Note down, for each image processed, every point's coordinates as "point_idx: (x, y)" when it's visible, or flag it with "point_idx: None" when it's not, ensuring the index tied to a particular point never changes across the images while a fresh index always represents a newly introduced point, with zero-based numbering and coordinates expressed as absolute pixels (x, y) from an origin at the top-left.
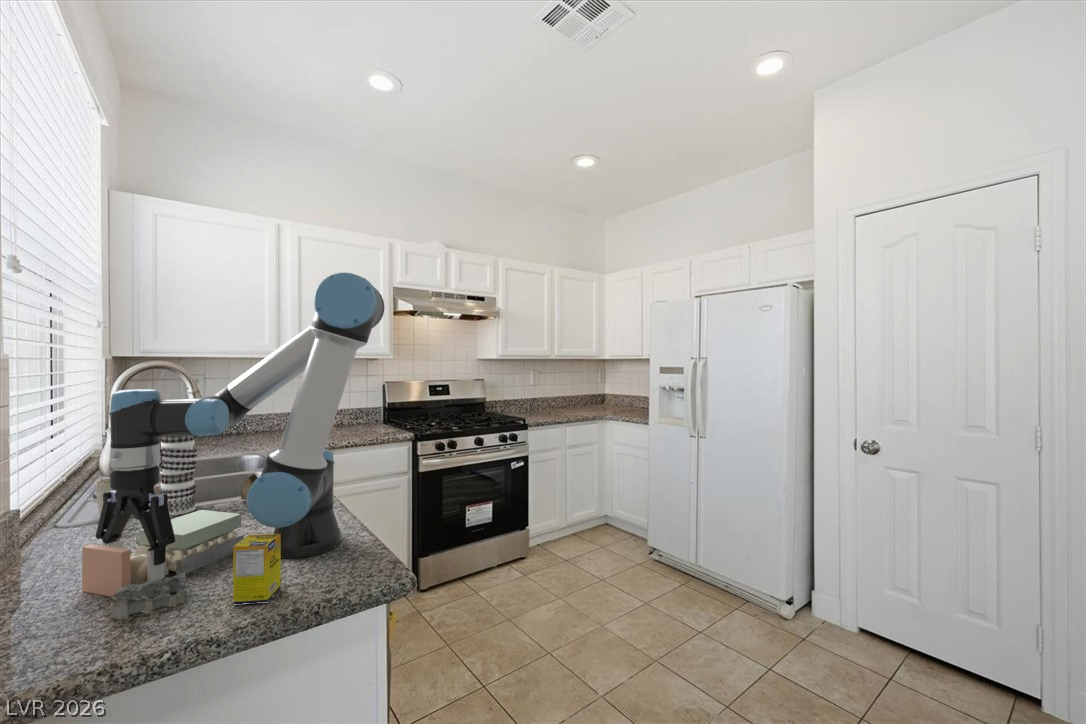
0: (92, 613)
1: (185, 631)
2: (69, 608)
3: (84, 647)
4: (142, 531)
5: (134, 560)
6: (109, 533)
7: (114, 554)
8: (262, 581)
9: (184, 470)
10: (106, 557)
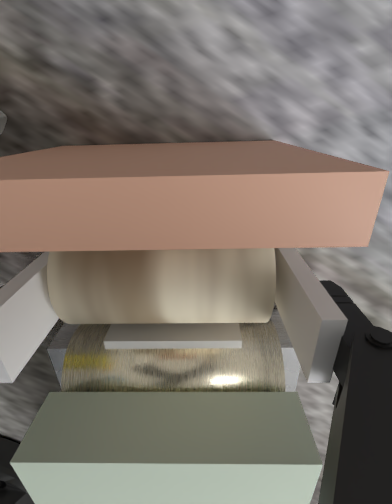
0: (9, 6)
1: None
2: (157, 6)
3: None
4: (295, 456)
5: (125, 282)
6: (359, 391)
7: None
8: None
9: None
10: (79, 168)
